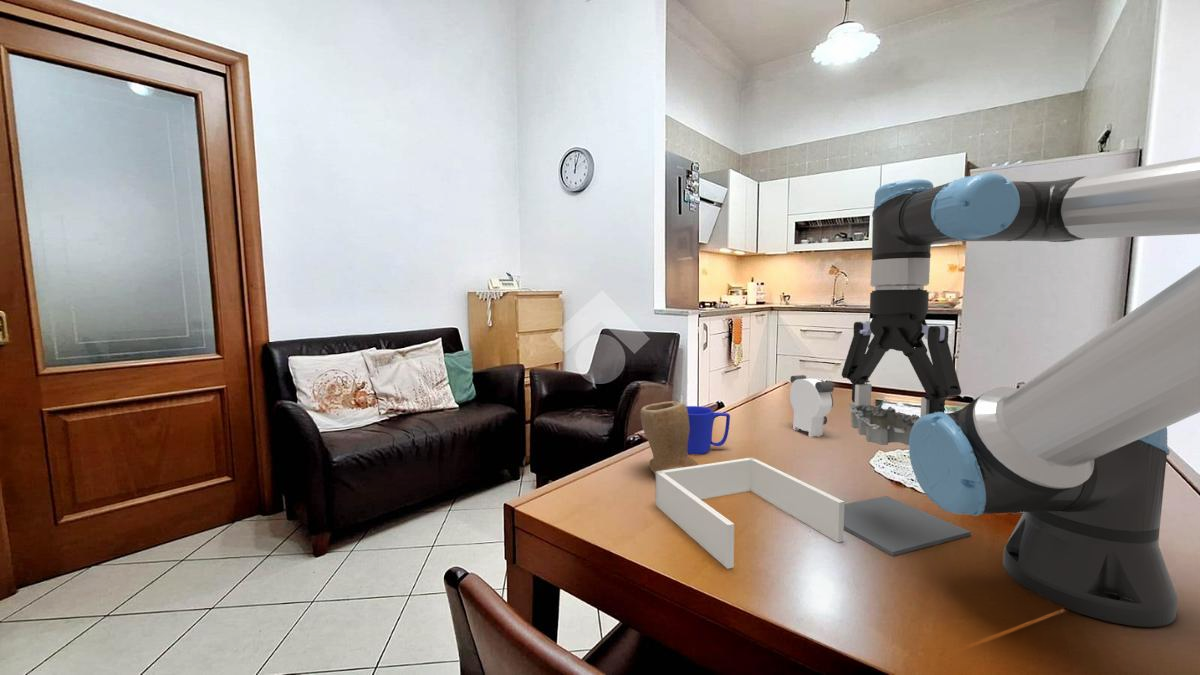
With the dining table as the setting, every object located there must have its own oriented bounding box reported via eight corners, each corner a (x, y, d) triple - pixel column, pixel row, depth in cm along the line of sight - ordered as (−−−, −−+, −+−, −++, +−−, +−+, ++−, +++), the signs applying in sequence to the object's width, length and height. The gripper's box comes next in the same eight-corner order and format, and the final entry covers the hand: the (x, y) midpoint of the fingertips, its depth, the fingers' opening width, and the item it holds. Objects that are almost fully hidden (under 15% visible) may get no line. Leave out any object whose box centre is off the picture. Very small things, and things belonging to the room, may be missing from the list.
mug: (733, 458, 107) (734, 414, 107) (679, 458, 108) (679, 414, 107) (724, 446, 116) (725, 405, 115) (674, 447, 116) (674, 406, 115)
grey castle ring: (924, 446, 68) (924, 418, 67) (865, 446, 70) (865, 418, 69) (897, 423, 78) (897, 398, 78) (846, 423, 80) (846, 399, 79)
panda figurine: (844, 441, 119) (846, 381, 118) (806, 445, 116) (807, 383, 115) (810, 428, 131) (812, 373, 130) (774, 432, 128) (776, 375, 126)
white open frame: (843, 541, 71) (844, 501, 70) (727, 568, 64) (727, 525, 63) (751, 488, 90) (752, 457, 90) (655, 505, 84) (655, 471, 83)
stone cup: (636, 465, 103) (635, 396, 102) (690, 463, 105) (690, 394, 103) (650, 494, 88) (650, 413, 87) (714, 491, 90) (714, 411, 88)
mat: (970, 535, 72) (970, 531, 72) (892, 556, 67) (892, 551, 67) (886, 499, 85) (886, 495, 85) (815, 513, 80) (815, 510, 80)
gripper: (1000, 286, 63) (990, 451, 65) (854, 289, 85) (849, 413, 87) (961, 286, 61) (952, 458, 63) (820, 289, 82) (816, 417, 84)
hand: (892, 432), depth 75 cm, fingers closed on grey castle ring, 10 cm apart
